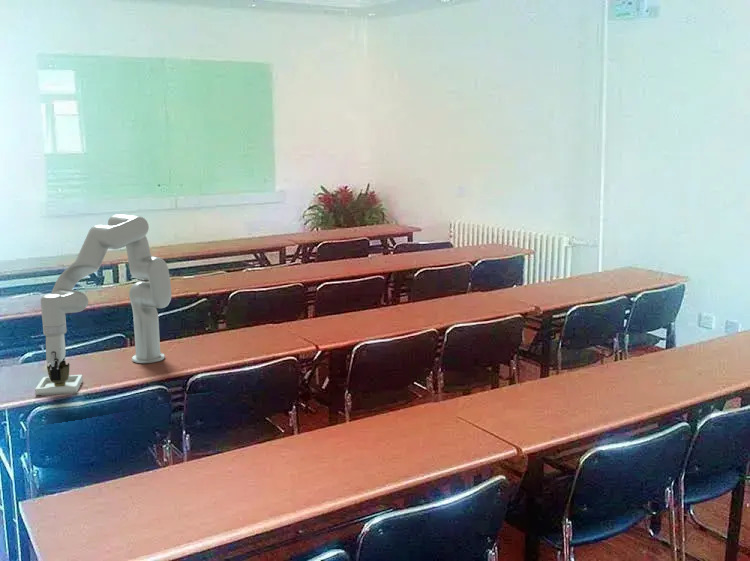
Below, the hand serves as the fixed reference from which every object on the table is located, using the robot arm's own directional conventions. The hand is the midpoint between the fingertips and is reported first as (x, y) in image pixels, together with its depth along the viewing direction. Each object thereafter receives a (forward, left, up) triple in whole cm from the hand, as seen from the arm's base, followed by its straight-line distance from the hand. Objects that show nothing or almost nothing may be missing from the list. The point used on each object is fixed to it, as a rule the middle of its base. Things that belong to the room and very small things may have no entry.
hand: (58, 375), depth 269 cm
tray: (0, 0, -5) cm, 5 cm away
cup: (0, 0, -4) cm, 4 cm away
